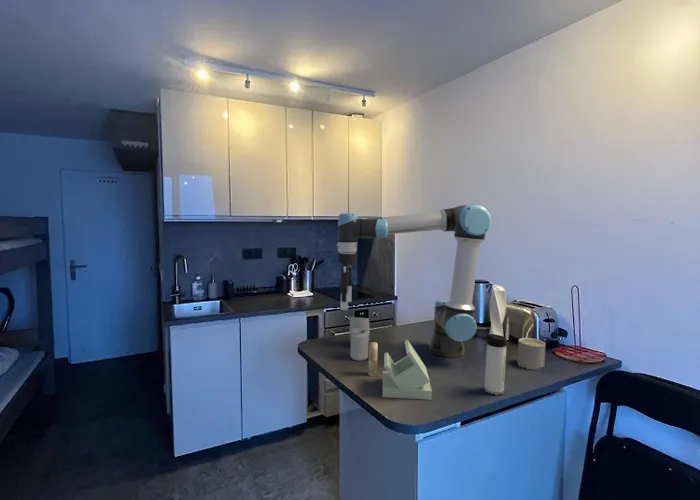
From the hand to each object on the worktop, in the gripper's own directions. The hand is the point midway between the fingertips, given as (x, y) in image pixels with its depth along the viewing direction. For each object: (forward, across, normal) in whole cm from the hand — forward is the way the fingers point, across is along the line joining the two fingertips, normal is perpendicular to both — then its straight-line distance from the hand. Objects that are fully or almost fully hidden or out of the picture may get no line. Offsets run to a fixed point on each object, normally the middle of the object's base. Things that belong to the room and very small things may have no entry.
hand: (346, 305), depth 158 cm
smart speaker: (+24, -22, +4) cm, 32 cm away
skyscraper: (+24, -39, +69) cm, 83 cm away
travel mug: (+24, +18, +54) cm, 62 cm away
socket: (+23, +21, +24) cm, 39 cm away
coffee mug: (+24, -10, +76) cm, 80 cm away
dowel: (+24, +10, +12) cm, 28 cm away
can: (+24, -6, +5) cm, 25 cm away
